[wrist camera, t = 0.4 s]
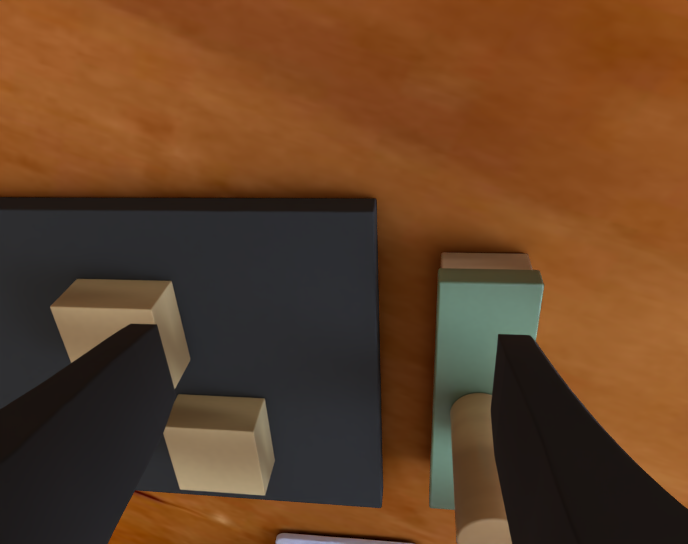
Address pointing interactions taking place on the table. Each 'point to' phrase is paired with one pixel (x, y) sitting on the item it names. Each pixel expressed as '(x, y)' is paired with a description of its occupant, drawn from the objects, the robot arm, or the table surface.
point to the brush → (474, 383)
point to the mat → (224, 318)
